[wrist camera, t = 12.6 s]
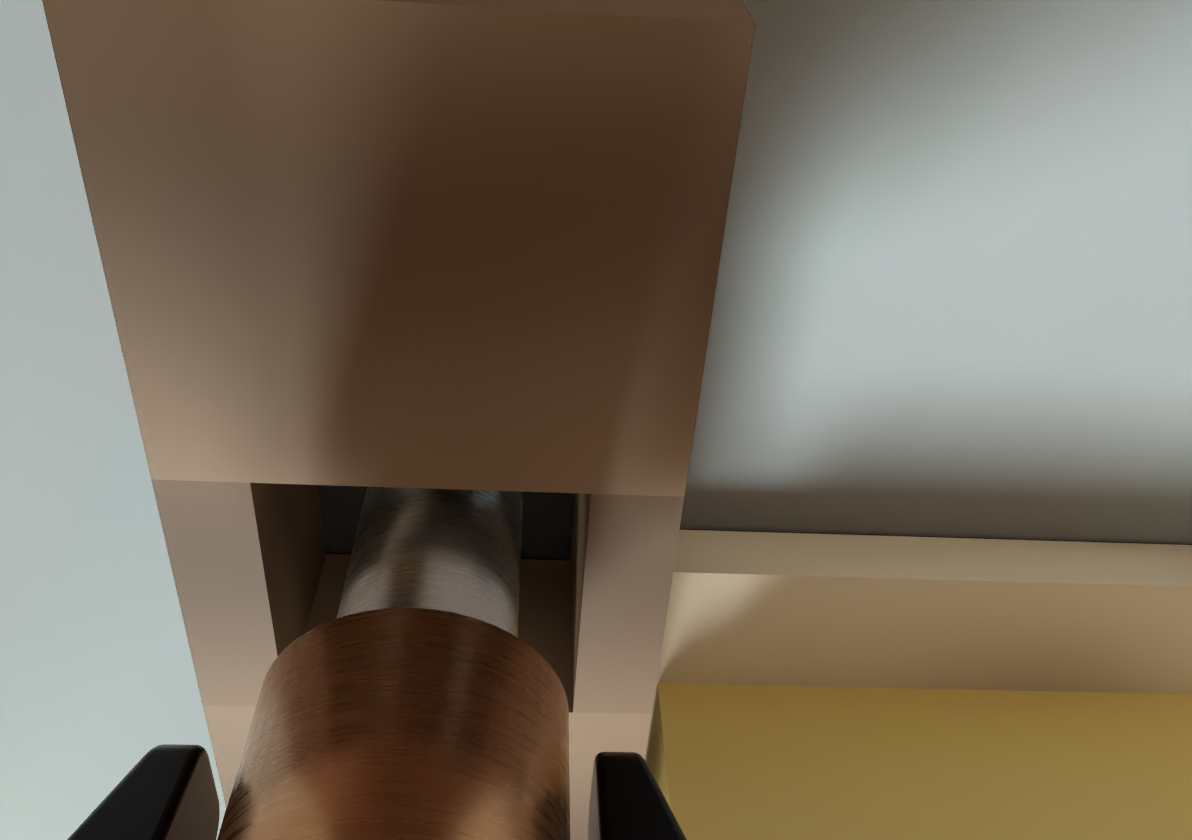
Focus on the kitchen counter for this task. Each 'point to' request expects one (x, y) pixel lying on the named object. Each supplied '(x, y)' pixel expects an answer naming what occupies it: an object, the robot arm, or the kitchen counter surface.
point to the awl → (413, 692)
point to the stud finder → (922, 763)
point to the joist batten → (412, 297)
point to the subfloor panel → (928, 613)
